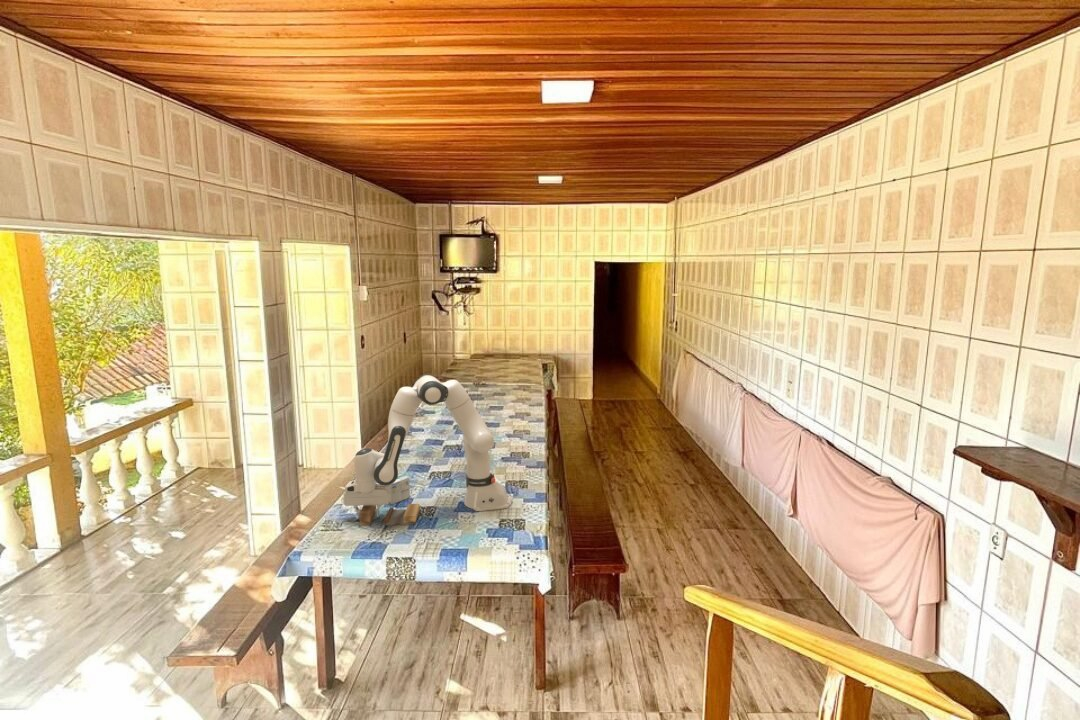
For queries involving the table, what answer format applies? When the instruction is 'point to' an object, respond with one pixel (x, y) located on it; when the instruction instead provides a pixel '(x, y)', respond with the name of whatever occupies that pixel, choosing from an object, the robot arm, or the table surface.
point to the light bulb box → (399, 489)
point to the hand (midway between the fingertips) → (368, 513)
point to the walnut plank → (367, 515)
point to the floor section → (403, 515)
